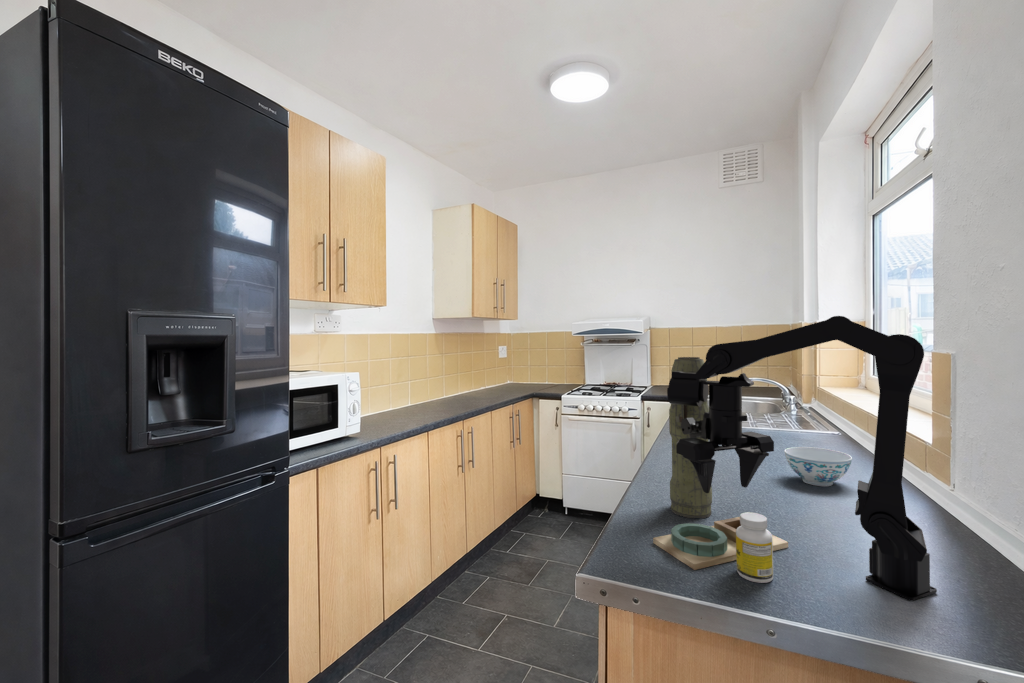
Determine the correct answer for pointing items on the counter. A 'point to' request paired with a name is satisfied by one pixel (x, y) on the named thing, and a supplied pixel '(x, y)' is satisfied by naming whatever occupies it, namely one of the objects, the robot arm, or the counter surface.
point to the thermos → (684, 478)
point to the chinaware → (818, 464)
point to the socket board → (708, 560)
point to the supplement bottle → (754, 548)
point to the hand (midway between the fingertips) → (725, 489)
